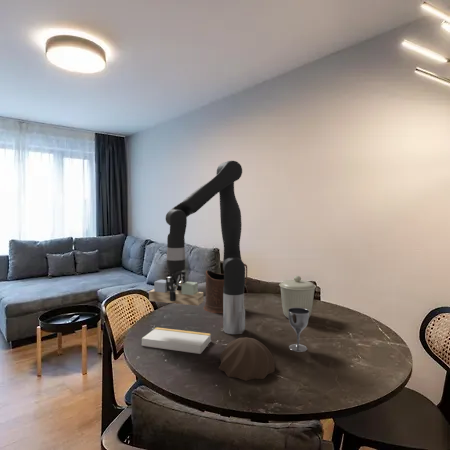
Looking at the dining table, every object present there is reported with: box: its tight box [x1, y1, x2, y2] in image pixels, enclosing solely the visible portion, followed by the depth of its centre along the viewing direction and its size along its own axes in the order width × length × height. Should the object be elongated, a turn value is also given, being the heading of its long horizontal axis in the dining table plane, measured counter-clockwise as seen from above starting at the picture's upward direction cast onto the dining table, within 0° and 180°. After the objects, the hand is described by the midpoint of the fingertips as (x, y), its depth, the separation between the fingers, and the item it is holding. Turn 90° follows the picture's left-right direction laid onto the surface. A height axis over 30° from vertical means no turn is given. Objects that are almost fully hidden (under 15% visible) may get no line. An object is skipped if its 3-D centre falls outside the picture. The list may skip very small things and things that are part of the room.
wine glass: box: [288, 307, 310, 353], centre depth 129 cm, size 8×8×15 cm
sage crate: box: [182, 281, 199, 295], centre depth 133 cm, size 5×5×4 cm
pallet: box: [148, 288, 204, 307], centre depth 135 cm, size 22×6×4 cm, turn 73°
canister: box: [278, 275, 317, 319], centre depth 165 cm, size 18×18×21 cm
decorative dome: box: [218, 336, 276, 381], centre depth 114 cm, size 19×20×10 cm
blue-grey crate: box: [153, 279, 170, 293], centre depth 137 cm, size 5×5×4 cm
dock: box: [141, 327, 212, 355], centre depth 133 cm, size 25×12×3 cm, turn 74°
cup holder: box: [203, 263, 248, 314], centre depth 179 cm, size 18×24×25 cm
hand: (176, 298), depth 135 cm, fingers closed on pallet, 5 cm apart
